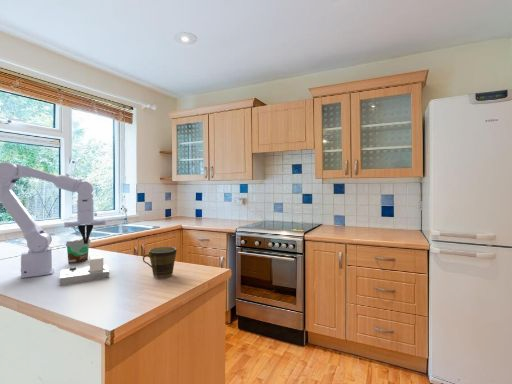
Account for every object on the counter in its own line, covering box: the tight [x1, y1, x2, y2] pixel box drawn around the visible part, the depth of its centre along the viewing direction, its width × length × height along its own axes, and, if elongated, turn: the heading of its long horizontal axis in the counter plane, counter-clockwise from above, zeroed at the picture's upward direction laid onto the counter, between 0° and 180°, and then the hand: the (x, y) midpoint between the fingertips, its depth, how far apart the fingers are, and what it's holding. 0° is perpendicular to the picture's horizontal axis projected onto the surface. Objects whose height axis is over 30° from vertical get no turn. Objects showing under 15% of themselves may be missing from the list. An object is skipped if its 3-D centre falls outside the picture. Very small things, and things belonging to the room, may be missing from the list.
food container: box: [65, 238, 91, 265], centre depth 131 cm, size 12×6×10 cm, turn 179°
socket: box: [59, 263, 110, 286], centre depth 106 cm, size 15×12×3 cm
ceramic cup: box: [142, 246, 178, 280], centre depth 106 cm, size 13×10×10 cm
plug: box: [88, 254, 104, 272], centre depth 108 cm, size 4×6×6 cm
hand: (85, 243), depth 118 cm, fingers closed
